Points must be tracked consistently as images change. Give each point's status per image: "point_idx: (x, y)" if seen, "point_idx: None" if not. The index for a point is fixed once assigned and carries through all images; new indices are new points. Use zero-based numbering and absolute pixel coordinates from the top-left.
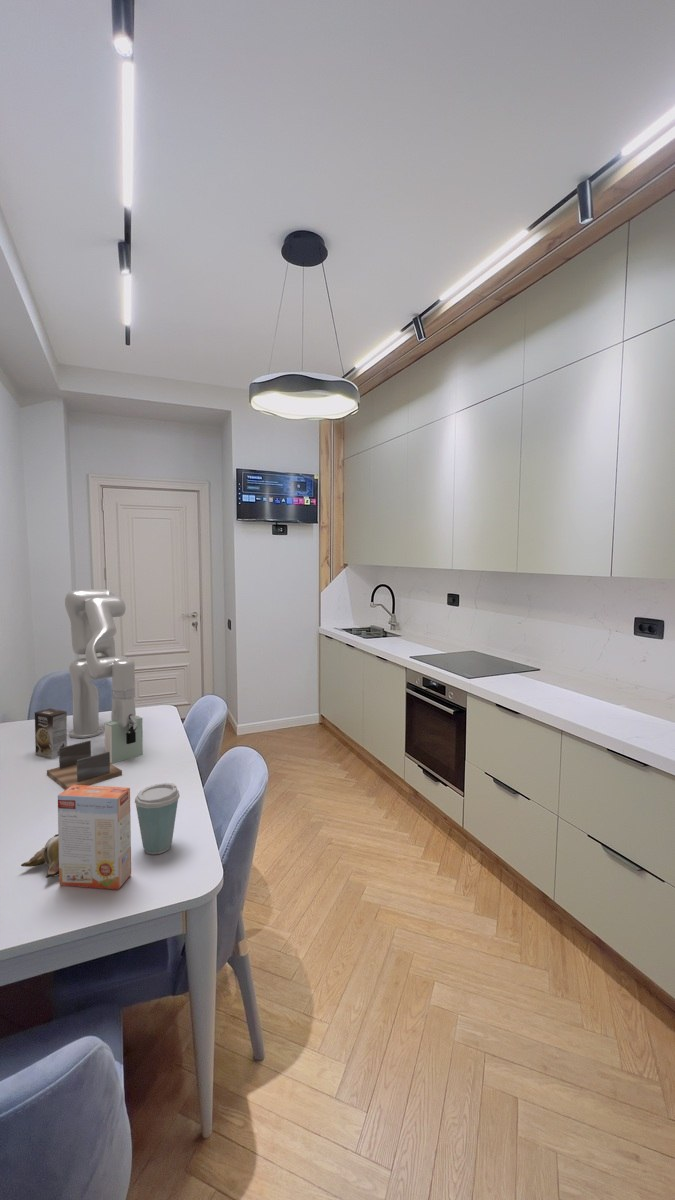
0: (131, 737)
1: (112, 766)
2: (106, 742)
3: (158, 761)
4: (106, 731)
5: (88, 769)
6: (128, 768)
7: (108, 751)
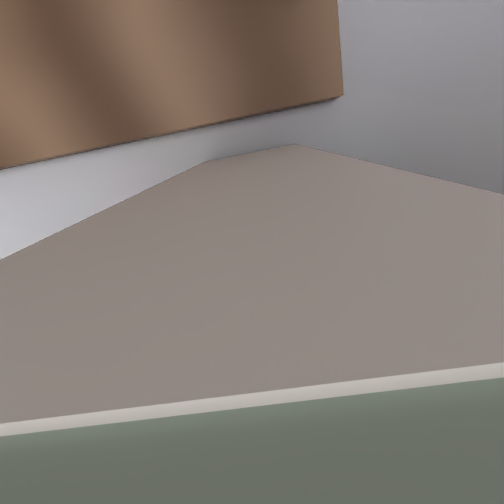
0: None
1: (40, 142)
2: (274, 162)
3: None
4: (277, 196)
5: None
6: None
7: (224, 163)
